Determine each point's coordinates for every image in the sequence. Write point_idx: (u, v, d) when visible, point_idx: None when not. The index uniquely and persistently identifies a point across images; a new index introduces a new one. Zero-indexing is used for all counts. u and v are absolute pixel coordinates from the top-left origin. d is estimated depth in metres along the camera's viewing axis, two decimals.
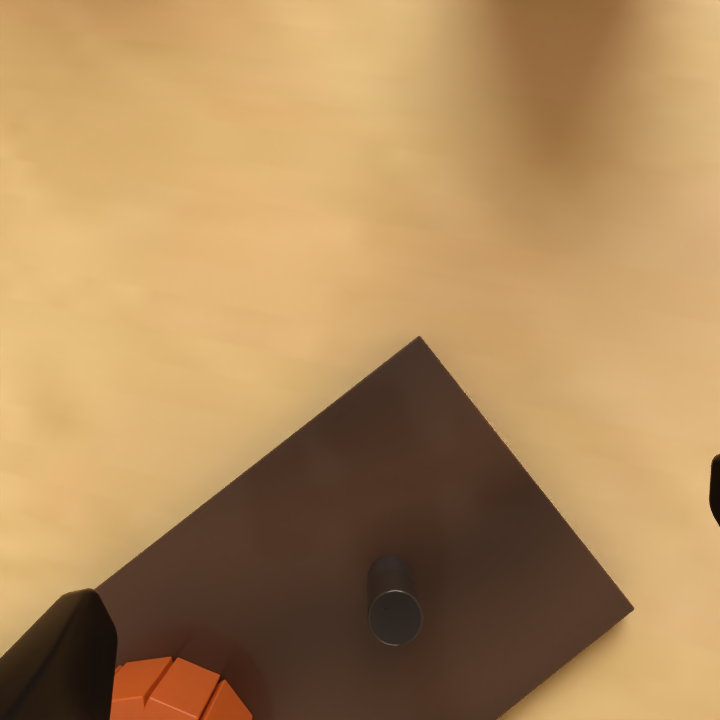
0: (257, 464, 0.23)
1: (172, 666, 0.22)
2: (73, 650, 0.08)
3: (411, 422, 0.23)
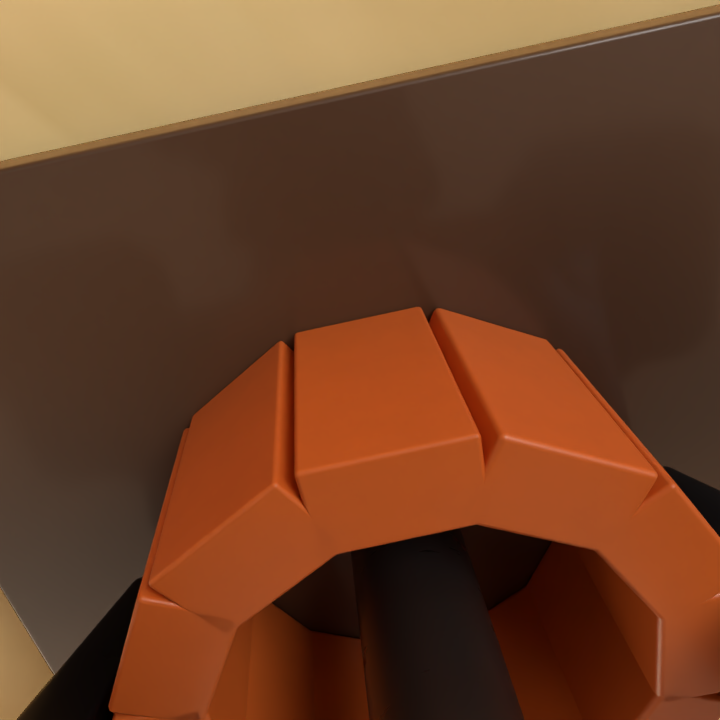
0: None
1: (583, 375, 0.08)
2: None
3: None
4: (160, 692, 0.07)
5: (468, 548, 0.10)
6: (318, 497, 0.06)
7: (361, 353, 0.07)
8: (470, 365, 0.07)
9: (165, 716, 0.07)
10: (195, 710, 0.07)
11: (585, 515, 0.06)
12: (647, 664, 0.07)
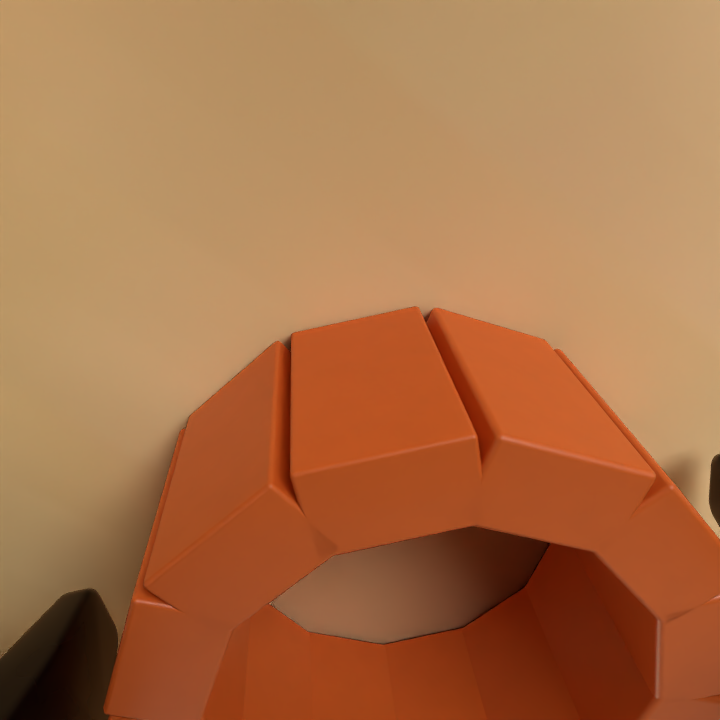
0: None
1: (581, 375, 0.08)
2: (73, 650, 0.08)
3: None
4: (155, 694, 0.07)
5: None
6: (313, 498, 0.06)
7: (357, 353, 0.07)
8: (467, 366, 0.07)
9: (160, 719, 0.07)
10: (190, 712, 0.07)
11: (583, 516, 0.06)
12: (646, 666, 0.07)
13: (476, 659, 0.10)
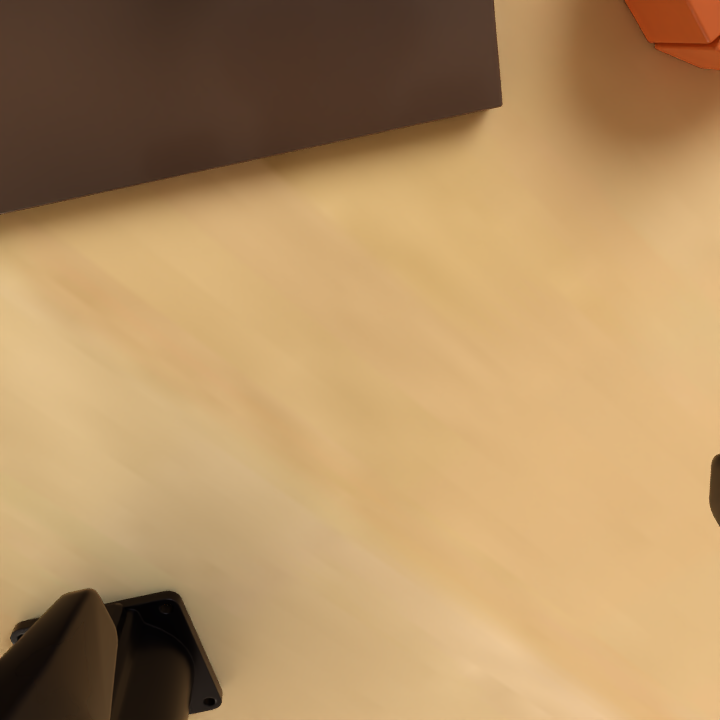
0: None
1: None
2: (73, 650, 0.08)
3: None
4: None
5: None
6: None
7: None
8: None
9: None
10: None
11: None
12: None
13: None
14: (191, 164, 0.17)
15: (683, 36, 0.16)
